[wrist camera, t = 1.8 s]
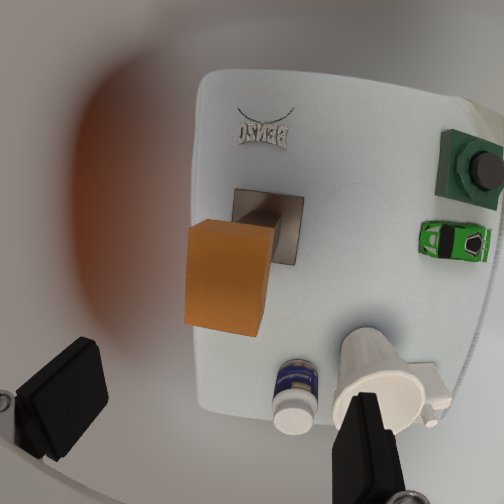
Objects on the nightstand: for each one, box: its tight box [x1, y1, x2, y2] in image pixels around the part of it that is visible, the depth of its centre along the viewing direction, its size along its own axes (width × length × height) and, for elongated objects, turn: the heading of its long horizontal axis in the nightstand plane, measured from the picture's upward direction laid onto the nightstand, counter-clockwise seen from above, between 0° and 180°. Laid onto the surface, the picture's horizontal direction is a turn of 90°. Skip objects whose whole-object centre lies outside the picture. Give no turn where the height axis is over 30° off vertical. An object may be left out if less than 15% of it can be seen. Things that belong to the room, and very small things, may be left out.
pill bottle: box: [272, 360, 318, 435], centre depth 37 cm, size 6×6×10 cm
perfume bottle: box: [407, 363, 452, 427], centre depth 33 cm, size 8×2×12 cm, turn 89°
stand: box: [232, 189, 304, 265], centre depth 29 cm, size 8×8×17 cm
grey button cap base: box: [435, 129, 504, 211], centre depth 29 cm, size 8×8×5 cm
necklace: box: [237, 108, 294, 149], centre depth 34 cm, size 7×1×5 cm
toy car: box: [419, 221, 492, 262], centre depth 33 cm, size 10×5×2 cm, turn 89°
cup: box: [331, 328, 426, 435], centre depth 33 cm, size 10×10×13 cm
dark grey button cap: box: [469, 153, 504, 190], centre depth 26 cm, size 4×4×2 cm
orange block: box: [185, 219, 275, 337], centre depth 20 cm, size 6×4×4 cm
